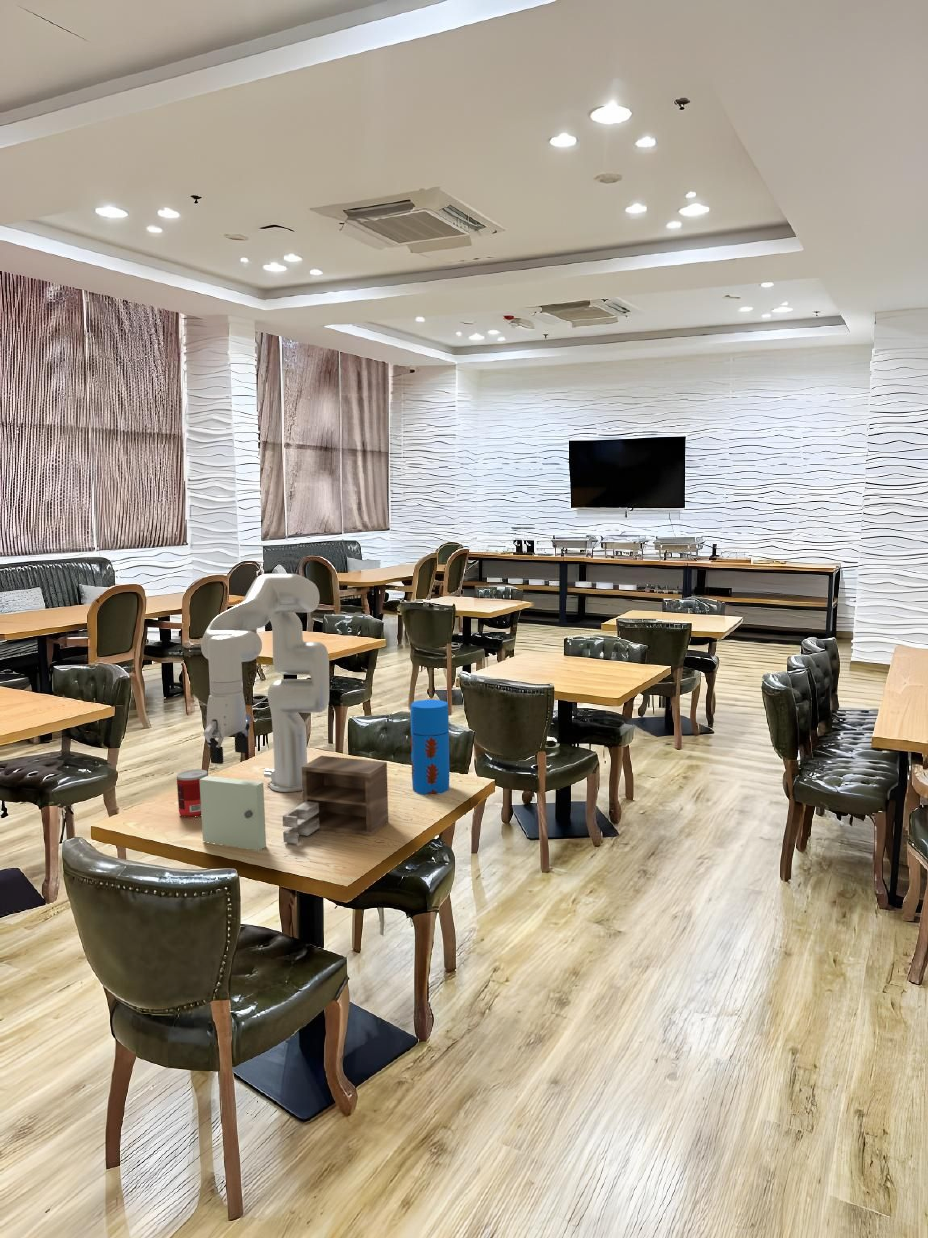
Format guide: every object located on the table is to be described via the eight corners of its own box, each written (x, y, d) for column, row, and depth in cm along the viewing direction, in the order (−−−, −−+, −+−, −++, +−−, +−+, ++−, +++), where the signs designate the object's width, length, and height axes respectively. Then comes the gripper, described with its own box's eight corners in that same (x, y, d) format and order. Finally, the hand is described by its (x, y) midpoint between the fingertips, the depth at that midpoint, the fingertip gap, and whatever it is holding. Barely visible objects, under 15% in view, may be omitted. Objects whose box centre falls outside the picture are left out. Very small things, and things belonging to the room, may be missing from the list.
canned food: (215, 810, 235) (213, 771, 233) (195, 820, 228) (192, 779, 226) (193, 806, 238) (191, 767, 237) (172, 816, 231) (170, 776, 229)
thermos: (414, 796, 244) (412, 709, 241) (410, 784, 255) (408, 700, 251) (452, 793, 246) (451, 707, 242) (447, 781, 256) (445, 698, 253)
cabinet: (280, 843, 211) (277, 779, 209) (323, 814, 231) (321, 755, 229) (350, 853, 205) (348, 787, 202) (388, 822, 224) (386, 762, 222)
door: (200, 844, 211) (196, 780, 209) (210, 838, 215) (207, 775, 213) (256, 852, 206) (253, 787, 204) (266, 846, 210) (263, 782, 208)
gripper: (234, 680, 215) (237, 747, 217) (189, 693, 199) (193, 766, 201) (260, 681, 213) (263, 749, 215) (217, 695, 196) (220, 769, 198)
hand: (229, 757), depth 208 cm, fingers open, 9 cm apart
